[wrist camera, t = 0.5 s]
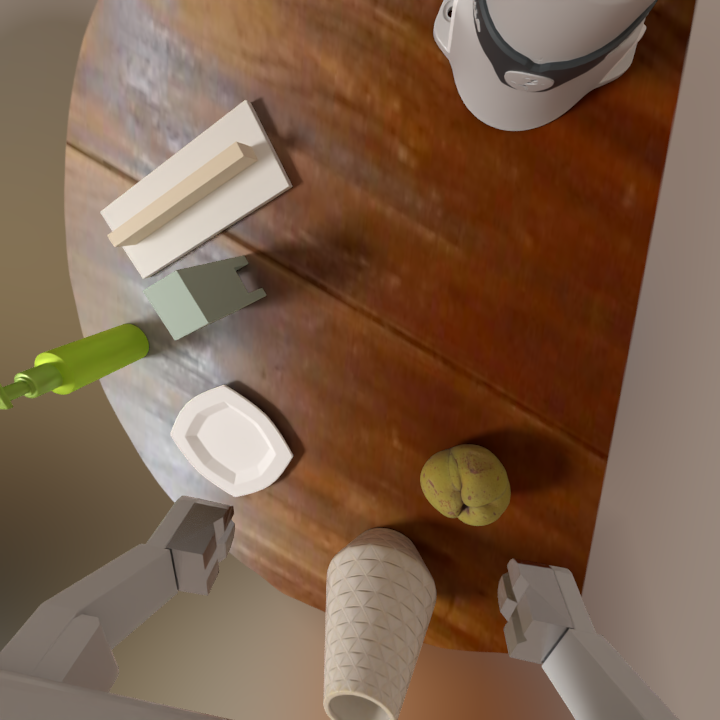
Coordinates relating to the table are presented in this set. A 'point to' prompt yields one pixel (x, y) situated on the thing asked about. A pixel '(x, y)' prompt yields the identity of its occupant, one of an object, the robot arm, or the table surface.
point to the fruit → (466, 484)
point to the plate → (231, 441)
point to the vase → (374, 625)
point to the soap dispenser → (78, 364)
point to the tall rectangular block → (200, 295)
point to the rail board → (210, 206)
